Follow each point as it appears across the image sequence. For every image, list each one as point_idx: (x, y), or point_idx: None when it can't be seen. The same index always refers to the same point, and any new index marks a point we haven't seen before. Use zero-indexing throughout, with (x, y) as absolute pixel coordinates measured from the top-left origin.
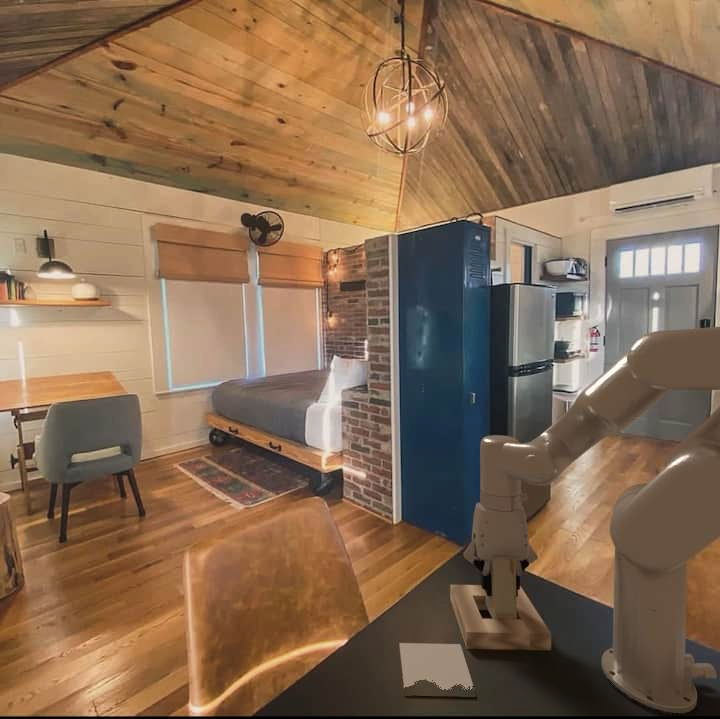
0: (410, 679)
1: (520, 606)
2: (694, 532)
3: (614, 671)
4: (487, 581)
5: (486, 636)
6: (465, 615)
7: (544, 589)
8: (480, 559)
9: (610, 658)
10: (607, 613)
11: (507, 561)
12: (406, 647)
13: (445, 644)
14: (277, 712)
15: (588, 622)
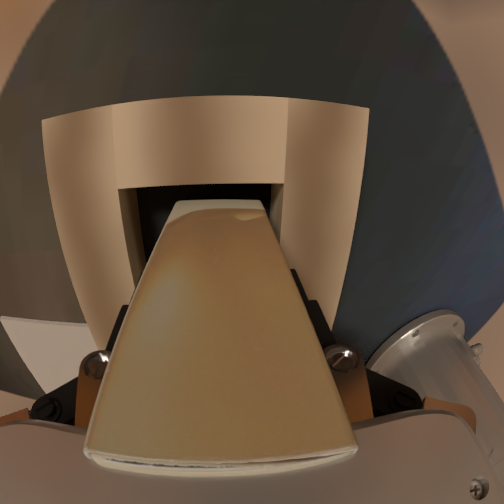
0: (43, 379)
1: (302, 252)
2: None
3: (380, 370)
4: None
5: None
6: (92, 305)
7: (438, 69)
8: (78, 405)
9: (399, 348)
10: (497, 196)
11: None
12: (12, 329)
13: (68, 327)
14: None
15: (453, 225)
